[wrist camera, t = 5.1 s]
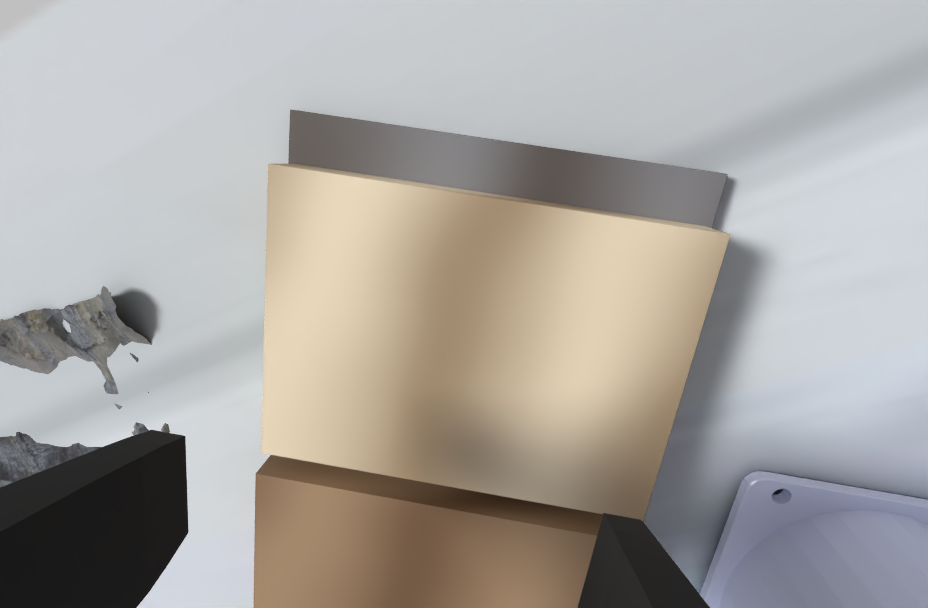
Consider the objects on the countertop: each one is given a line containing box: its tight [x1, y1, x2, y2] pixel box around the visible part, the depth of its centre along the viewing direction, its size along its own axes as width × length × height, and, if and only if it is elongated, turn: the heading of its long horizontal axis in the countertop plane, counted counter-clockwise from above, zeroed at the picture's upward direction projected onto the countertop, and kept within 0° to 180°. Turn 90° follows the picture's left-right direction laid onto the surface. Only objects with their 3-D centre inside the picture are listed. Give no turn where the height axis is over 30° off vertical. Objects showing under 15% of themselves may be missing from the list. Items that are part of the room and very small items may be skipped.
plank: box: [261, 164, 730, 521], centre depth 13 cm, size 11×8×2 cm
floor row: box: [254, 110, 727, 608], centre depth 14 cm, size 11×16×2 cm
